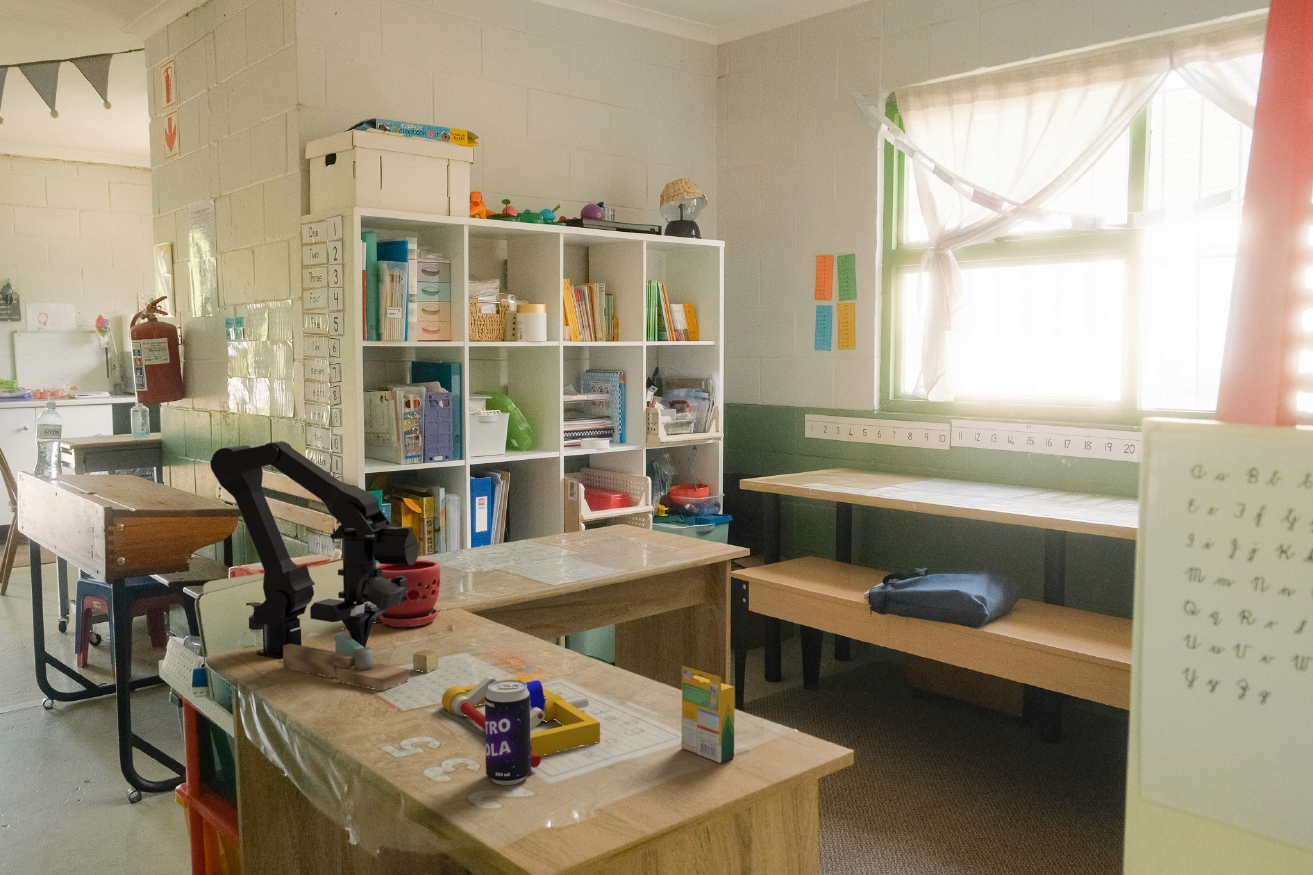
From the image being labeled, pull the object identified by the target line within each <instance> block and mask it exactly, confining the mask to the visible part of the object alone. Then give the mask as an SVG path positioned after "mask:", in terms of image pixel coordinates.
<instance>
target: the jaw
mask: <svg viewBox="0 0 1313 875" xmlns="http://www.w3.org/2000/svg"><path fill="white" fill-rule="evenodd" d="M334 641H335V644H334V645H335V646H334V648H335V652H339V653H341V655H345V656H350V657H354V651H355V650H356V649H360V648H364V647H363V646H362V645H360V644H359V643H358V642H356V641H355V640H354V639H352V637H351V636H349V635H348V634H347V633H345V632H344V631H341V632H335V633H334Z"/></svg>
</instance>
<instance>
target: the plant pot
mask: <svg viewBox="0 0 1313 875" xmlns="http://www.w3.org/2000/svg"><path fill="white" fill-rule="evenodd" d="M376 567H379V568H381V570H382V575H383V578H385V579H390V578H391V579H392V580H393V579H394V578H395V577H398V576H403V577H405V578H407V585H408V589H407V600H405V601H402V602H400V604H399V606H397V607H396V606H394V607H391V608H389V609H387V610H385V611H383V612H381V613H380V614H379V620H380V621H381V622H382V623H383V624H385V625H386V626H389V627H395V628H396V627H397V628H412V627H420V626H426V625H427V624H430V623H431V622H433V621H434V620H435V619H436V618H437V617H438V616H439V610H438V609H436V608H434V607H435V605H436V603H437V601H438V597H439V593H440V584H441V570H440V569H441V567H440V563H439V562H437V561H433V560H416V562H415V563H414V564H413V565H394V564H379V565H376Z"/></svg>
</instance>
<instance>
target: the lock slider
mask: <svg viewBox="0 0 1313 875" xmlns="http://www.w3.org/2000/svg"><path fill="white" fill-rule="evenodd" d="M412 665H413V666H412V671H413V670H420V671H423V672H428V671H430V670H433V669H436V668H438V669H439V651H438V650H431V649H426V648H425V649H421V650H420V651H417V652H413V653H412ZM436 670H437V669H436ZM423 672H422V673H423Z"/></svg>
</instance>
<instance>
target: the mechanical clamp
mask: <svg viewBox="0 0 1313 875" xmlns="http://www.w3.org/2000/svg"><path fill="white" fill-rule="evenodd" d="M501 680H502V679H500V680H496V679H495V678H494V677H492V676H490V675H487V676H486V677H484V678H483V679H482V680H481V681H480V682H479V683H478V684H473V685H467V686H462V687H460V686H451V687H449V688H447V689H446V690H445V691H444V693H443V694H442V697H441V704H442V707H443V708H444V710H446V709H447V710H446V711H448V712H449V713H450V714H451V713H457V714H456V715H458V716H460V717H463V716H464V715H467V716H466V717H468V718H469V719H470V720H472V721H473V722H474V723H475V724H477V725H478V726H479V727H481V728H482V729H483V730H484V731H485V714H483V713H482V712H480V711H479V710H478V709H476V708H475V707H476V706H475V705H479V704H484V703H485V695H486V693H487V691H488V686H489V685H490V684H491V683H493V682H497V681H501ZM503 680H519V681H523V682H525V683H526V684H527V689H528V691H529V693H530V723H531V768H538V767H539V766H540V764H541V758H540V757H538V756H541V757H543V756H542V755H544V754H549V755H551V754H550V753H553V754H556V753H555V752H557V751H562V752H564V751H563V750H565V749H570V748H573V747H578V746H580V745H587V744H591V745H593V744H594V743H595V742H599V743H601V721H599V720H597V719H595V718H593V717H591V716H590V715H589V714H587V713H585V712H584V711H583V710H581V708H585V707H588V705H589V699H588V697H587V696H581V697H577V698H572V699H568V700H564V698H563V697H562V696H561V695H560V694H555V693H553V692H552V691H550V690H549V689H548V688H545V687H544V686H543V684H542V683H541V681H540V680H538V679H536V680H532V679H530V678H529V677H527V676H525V675H521V676H517V677H516V676H514V677H511V678H505V679H503ZM474 706H475V707H474ZM554 719H556V720H557V721H558V722H560V723H561V724H563V725H564V726H562V725H561V724H560V725H561V726H558V727H554V728H548V729H545V730H540V731H535V732H532V731H533V730H534V729H535V728H536V727H537V726H538V725H539V724H540V723H542V722H544V721H543V720H545V721H550V720H554ZM541 721H542V722H541ZM550 722H551V721H550ZM558 722H557V723H558ZM595 744H596V743H595ZM595 744H594V745H595ZM587 746H588V745H587ZM578 748H579V747H578ZM570 750H571V749H570ZM557 753H558V752H557Z"/></svg>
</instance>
